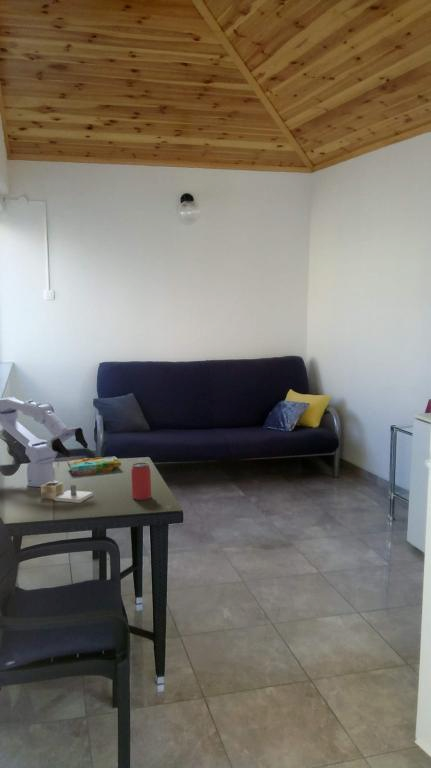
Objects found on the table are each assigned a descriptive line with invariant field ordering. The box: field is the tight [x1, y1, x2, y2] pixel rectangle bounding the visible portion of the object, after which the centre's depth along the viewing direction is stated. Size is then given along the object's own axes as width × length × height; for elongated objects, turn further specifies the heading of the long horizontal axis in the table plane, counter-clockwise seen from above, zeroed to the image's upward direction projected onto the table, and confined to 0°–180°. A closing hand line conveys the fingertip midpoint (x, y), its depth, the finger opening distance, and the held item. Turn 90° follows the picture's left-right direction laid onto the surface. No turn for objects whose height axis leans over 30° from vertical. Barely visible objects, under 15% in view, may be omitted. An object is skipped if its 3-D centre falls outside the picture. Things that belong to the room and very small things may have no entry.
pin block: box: [54, 483, 94, 504], centre depth 236 cm, size 10×9×5 cm
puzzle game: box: [67, 456, 122, 476], centre depth 275 cm, size 12×5×20 cm
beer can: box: [130, 462, 152, 501], centre depth 234 cm, size 7×7×12 cm
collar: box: [40, 482, 64, 500], centre depth 239 cm, size 6×6×4 cm
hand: (78, 450), depth 241 cm, fingers open, 7 cm apart
